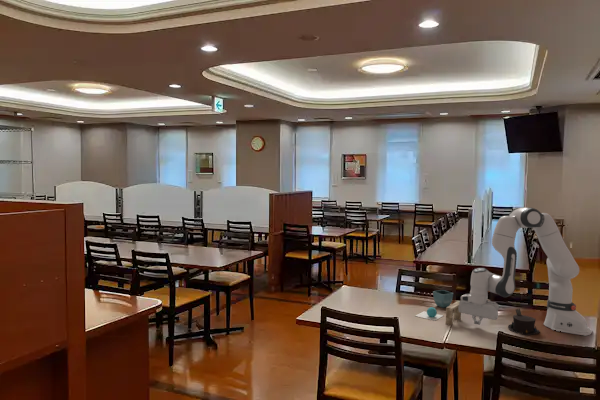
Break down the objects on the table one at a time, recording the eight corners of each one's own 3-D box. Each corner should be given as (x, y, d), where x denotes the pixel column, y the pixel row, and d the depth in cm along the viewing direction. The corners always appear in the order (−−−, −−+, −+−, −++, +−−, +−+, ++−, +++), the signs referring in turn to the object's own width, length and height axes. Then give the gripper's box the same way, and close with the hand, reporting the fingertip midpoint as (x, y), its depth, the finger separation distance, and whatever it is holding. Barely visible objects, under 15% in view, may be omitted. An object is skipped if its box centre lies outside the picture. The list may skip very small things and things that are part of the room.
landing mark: (443, 315, 265) (443, 315, 265) (435, 320, 255) (435, 320, 255) (423, 311, 272) (423, 311, 272) (414, 316, 263) (414, 315, 263)
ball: (427, 309, 267) (432, 317, 265) (423, 310, 262) (428, 319, 260) (434, 304, 264) (440, 313, 262) (431, 306, 260) (436, 315, 258)
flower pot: (431, 305, 286) (432, 291, 285) (442, 303, 290) (443, 289, 289) (442, 309, 278) (443, 294, 277) (453, 307, 282) (453, 293, 281)
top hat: (543, 331, 243) (544, 312, 242) (533, 338, 233) (534, 318, 232) (514, 324, 254) (515, 305, 253) (503, 330, 243) (504, 311, 243)
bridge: (460, 319, 260) (461, 303, 259) (450, 325, 249) (451, 308, 248) (455, 317, 262) (456, 301, 261) (445, 324, 250) (446, 307, 250)
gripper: (500, 301, 242) (499, 327, 243) (461, 293, 255) (460, 318, 256) (497, 303, 237) (495, 330, 238) (457, 296, 250) (456, 321, 251)
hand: (477, 324), depth 247 cm, fingers closed
